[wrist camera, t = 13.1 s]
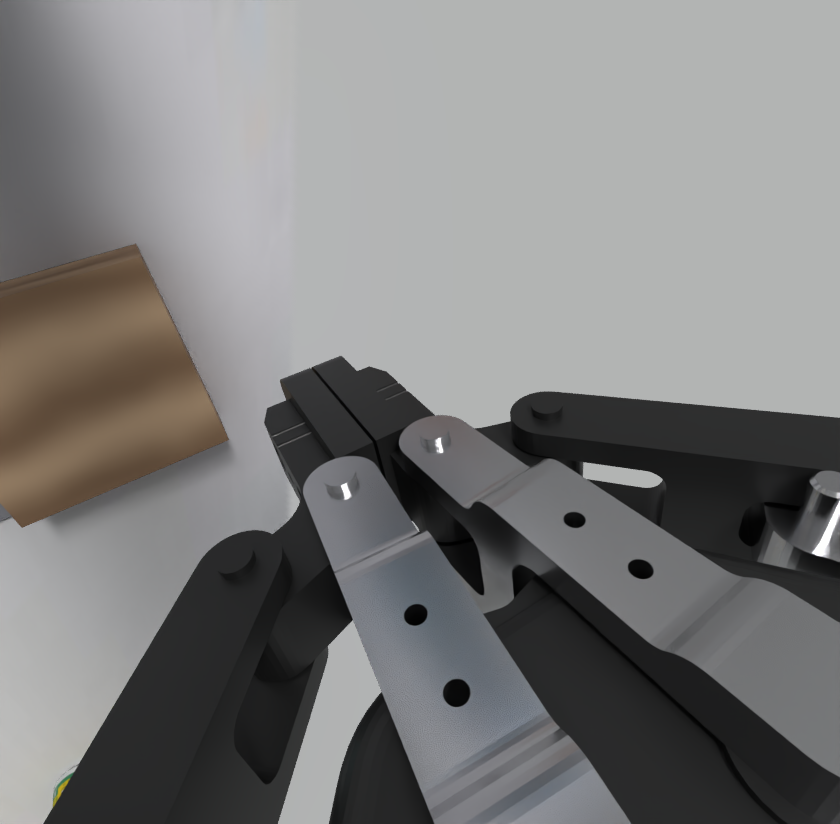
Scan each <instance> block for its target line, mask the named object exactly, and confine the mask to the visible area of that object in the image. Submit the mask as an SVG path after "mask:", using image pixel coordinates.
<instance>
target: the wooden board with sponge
mask: <svg viewBox="0 0 840 824" xmlns="http://www.w3.org/2000/svg"><path fill="white" fill-rule="evenodd" d="M227 440H229V439H228V437H227V434H226V432H225V429H224V427H223V425H222V422H221V420H220V417H219V415H218V413H217V411H216V409H215V407H214V405H213V403H212V401H211V398H210V396H209V394H208V392H207V390H206V388H205V386H204V384H203V382H202V380H201V378H200V376H199V374H198V371H197V369H196V367H195V365H194V363H193V361H192V359H191V357H190V355H189V353H188V351H187V349H186V347H185V344H184V342H183V340H182V338H181V336H180V334H179V332H178V330H177V328H176V326H175V324H174V322H173V320H172V317H171V315H170V313H169V311H168V309H167V307H166V305H165V303H164V301H163V299H162V297H161V295H160V293H159V290H158V288H157V286H156V284H155V282H154V280H153V278H152V276H151V274H150V272H149V270H148V268H147V266H146V263H145V261H144V259H143V257H142V255H141V253H140V251H139V249H138V247H137V245H136V244H134V245H130V246H127V247H123V248H120V249H116V250H113V251H109V252H106V253H102V254H99V255H95V256H92V257H88V258H85V259H81V260H78V261H74V262H71V263H67V264H64V265H60V266H57V267H53V268H50V269H46V270H43V271H39V272H36V273H33V274H29V275H26V276H22V277H19V278H15V279H12V280H8V281H5V282H1V283H0V504H1V505H2V506H3V507H4V508H5V509H6V510H7V511H8V513H9V514H10V515H11V516H12V517H13V518H14V519H15V520H16V522H17V523H18V524H19V525H20V526H21V527H22V528H23V527H25V526H27V525H30V524H32V523H34V522H37V521H39V520H41V519H44V518H46V517H48V516H51V515H53V514H55V513H58V512H60V511H63V510H65V509H67V508H70V507H72V506H74V505H77V504H79V503H81V502H84V501H86V500H88V499H91V498H93V497H95V496H98V495H100V494H103V493H105V492H107V491H110V490H112V489H114V488H117V487H119V486H121V485H124V484H126V483H128V482H131V481H133V480H136V479H138V478H140V477H143V476H145V475H147V474H150V473H152V472H154V471H157V470H159V469H161V468H164V467H166V466H168V465H171V464H173V463H176V462H178V461H180V460H183V459H185V458H187V457H190V456H192V455H194V454H197V453H199V452H201V451H204V450H206V449H208V448H211V447H213V446H216V445H218V444H220V443H223V442H225V441H227Z"/></svg>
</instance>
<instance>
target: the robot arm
mask: <svg viewBox="0 0 840 824" xmlns="http://www.w3.org/2000/svg"><path fill="white" fill-rule="evenodd" d="M280 383H281V387H282V390H283V392H284V395H285V398H286V401H284V402H281V403H279V404H276V405H274V406H272V407H269V408H267V412H266V417H265V422H264V423H265V426H266V428H267V431H268V433H269V435H270V438H271V440H272V443H273V445H274V447H275V450H276V452H277V455H278V457H279V459H280V462H281V464H282V467H283V469H284V472H285V474H286V476H287V478H288V479H289V481H290V483H291V485H292V487H293V489H294V491H295V493H296V495H297V496H298V498H299V500H300V503H299V506H298V508H297V510H296V512H295V513H294V515H293V516H292V517H291V518H290V520H289V521H288V522H287V523H286V524H285V525H283V526H282V527H281V528H280V529H279V530H277V531H276V532H275V533H274V534H273V535H272V534H270V533H268V532H265V531H258V530H252V531H245V532H241V533H238V534H235V535H232V536H230V537H228V538H226V539H224V540H222V541H221V542H219V543H218V544H217V545H215V546H214V547H213V548H212V549H210V550H209V551H208V552H207V553H206V554H205V556H204V557H203V558H202V559H201V561H200V562H199V564H198V565H197V567H196V569H195V570H194V572H193V574H192V575H191V577H190V579H189V580H188V582H187V584H186V586H185V587H184V589H183V591H182V592H181V594H180V596H179V597H178V599H177V601H176V602H175V604H174V606H173V607H172V609H171V611H170V612H169V614H168V616H167V617H166V619H165V621H164V622H163V624H162V626H161V627H160V629H159V631H158V632H157V634H156V636H155V637H154V639H153V641H152V643H151V644H150V646H149V648H148V649H147V651H146V653H145V654H144V656H143V658H142V659H141V661H140V663H139V664H138V666H137V668H136V669H135V671H134V673H133V674H132V676H131V678H130V679H129V681H128V683H127V684H126V686H125V688H124V689H123V691H122V693H121V694H120V696H119V698H118V699H117V701H116V703H115V705H114V706H113V708H112V710H111V711H110V713H109V715H108V716H107V718H106V720H105V721H104V723H103V725H102V726H101V728H100V730H99V731H98V733H97V735H96V736H95V738H94V740H93V741H92V743H91V745H90V746H89V748H88V750H87V751H86V753H85V755H84V756H83V758H82V760H81V762H80V763H79V765H78V767H77V768H76V770H75V772H74V773H73V775H72V777H71V778H70V780H69V782H68V783H67V785H66V787H65V788H64V790H63V792H62V793H61V795H60V797H59V798H58V800H57V802H56V803H55V805H54V807H53V808H52V810H51V812H50V813H49V815H48V817H47V818H46V820H45V822H44V824H278V821H279V817H280V814H281V811H282V808H283V804H284V801H285V797H286V794H287V791H288V788H289V785H290V781H291V778H292V775H293V771H294V768H295V765H296V761H297V758H298V755H299V752H300V748H301V745H302V742H303V738H304V735H305V732H306V728H307V725H308V722H309V719H310V715H311V712H312V709H313V706H314V702H315V699H316V695H317V692H318V689H319V686H320V683H321V679H322V676H323V673H324V669H325V666H326V662H327V658H328V645H329V644H330V643H331V642H332V641H333V640H334V639H335V638H336V637H337V636H338V635H339V634H340V633H341V632H342V630H344V628H345V627H346V626H347V625H348V624H349V623H350V622H351V621H352V620H353V621H354V623H355V626H356V628H357V631H358V633H359V636H360V638H361V641H362V643H363V646H364V648H365V651H366V653H367V656H368V658H369V661H370V664H371V666H372V669H373V671H374V674H375V676H376V679H377V681H378V683H379V686H380V689H381V691H382V692H381V693H380V694H379V696H378V697H377V698H376V699H375V701H374V702H373V703H372V705H371V706H370V708H369V709H368V710H367V712H366V713H365V715H364V717H363V718H362V720H361V722H360V723H359V725H358V727H357V729H356V731H355V733H354V736H353V737H352V740H351V742H350V744H349V746H348V749H347V752H346V755H345V758H344V761H343V764H342V767H341V771H340V775H339V779H338V783H337V788H336V793H335V798H334V802H333V807H332V812H331V816H330V821H329V824H840V418H834V417H824V416H813V415H802V414H791V413H780V412H770V411H759V410H747V409H737V408H726V407H715V406H704V405H693V404H682V403H671V402H660V401H650V400H639V399H628V398H617V397H606V396H595V395H584V394H573V393H561V392H537V393H533V394H529V395H527V396H524V397H522V398H521V399H519V400H518V401H517V402H516V403H515V404H514V405H513V406H512V408H511V411H510V414H511V415H510V416H511V421H510V422H506V423H502V424H498V425H492V426H488V427H483V428H475V429H474V428H473V427H471V426H470V425H468V424H467V423H466V422H464V421H463V420H461V419H459V418H456V417H452V416H446V415H436V416H435V415H434V414H433V413H432V412H431V411H430V410H428V409H427V408H426V407H425V406H424V405H423V404H422V403H421V402H420V401H418V400H417V399H416V398H415V397H414V396H413V395H412V394H411V393H409V392H408V391H406V389H405V388H404V387H403V386H402V385H401V384H398V383H397V381H396V380H395V379H394V378H393V377H392V376H391V375H389V374H388V373H387V372H386V371H382V370H379V369H376V368H372V367H367V368H365V369H362V370H359V371H356V370H355V369H354V368H353V367H352V366H351V365H350V364H349V363H348V362H347V361H346V360H345V359H344V358H343V357H342V356H339V357H337V358H334V359H331V360H329V361H326V362H324V363H321V364H319V365H316V366H314V367H312V369H310V368H309V369H307V370H304V371H301V372H299V373H296V374H294V375H291V376H288V377H286V378H283V379H281V380H280ZM583 462H587V463H595V464H601V465H608V466H615V467H622V468H630V469H637V470H643V471H649V472H652V473H654V474H657V475H658V476H660V477H661V478H662V479H663V481H662V482H661V483H660V484H659V485H658V486H656V487H652V488H641V487H634V486H627V485H621V484H615V483H608V482H602V481H595V480H589V479H585V478H583ZM412 521H413V522H414V523H415V524H416V526H417V527H418V528H419V532H418V530H417V529H416V528H415V526H414V524H413V523H412Z"/></svg>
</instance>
